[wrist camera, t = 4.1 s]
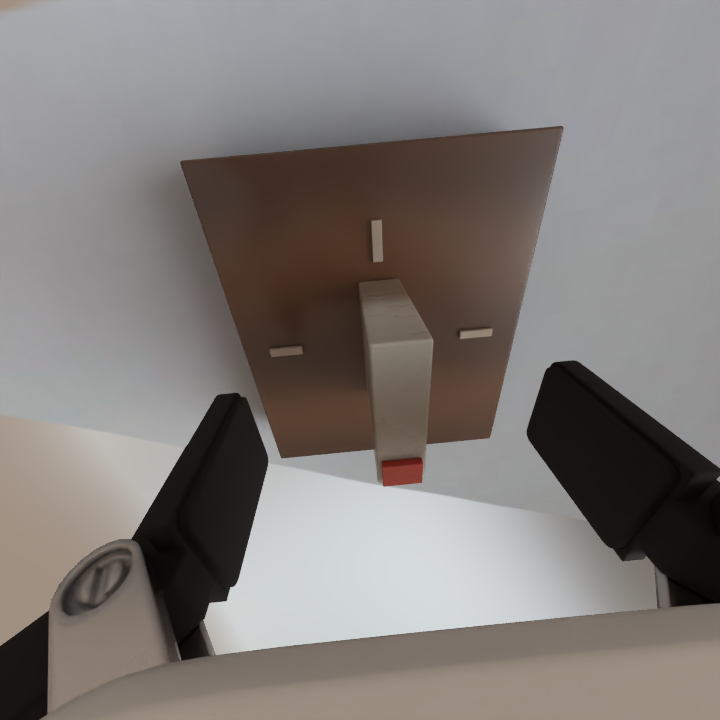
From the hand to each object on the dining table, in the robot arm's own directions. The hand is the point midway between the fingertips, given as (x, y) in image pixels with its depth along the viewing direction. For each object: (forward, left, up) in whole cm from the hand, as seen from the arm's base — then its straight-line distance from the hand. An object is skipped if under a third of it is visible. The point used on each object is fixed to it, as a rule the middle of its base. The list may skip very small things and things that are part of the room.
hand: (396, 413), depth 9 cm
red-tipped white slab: (0, 0, -4) cm, 4 cm away
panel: (0, 0, -7) cm, 7 cm away
